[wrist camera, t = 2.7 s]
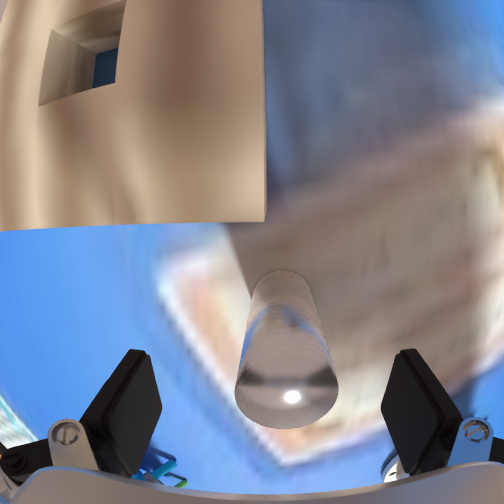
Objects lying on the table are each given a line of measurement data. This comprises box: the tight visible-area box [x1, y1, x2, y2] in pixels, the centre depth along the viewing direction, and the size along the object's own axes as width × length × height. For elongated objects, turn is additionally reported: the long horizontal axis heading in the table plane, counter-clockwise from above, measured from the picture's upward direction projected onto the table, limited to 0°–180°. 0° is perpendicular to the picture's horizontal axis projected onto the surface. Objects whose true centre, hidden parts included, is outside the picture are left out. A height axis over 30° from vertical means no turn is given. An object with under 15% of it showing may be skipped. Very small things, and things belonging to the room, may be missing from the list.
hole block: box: [0, 0, 267, 231], centre depth 14 cm, size 20×20×6 cm
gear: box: [131, 459, 188, 488], centre depth 24 cm, size 11×6×10 cm
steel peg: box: [235, 270, 338, 429], centre depth 15 cm, size 4×4×10 cm
